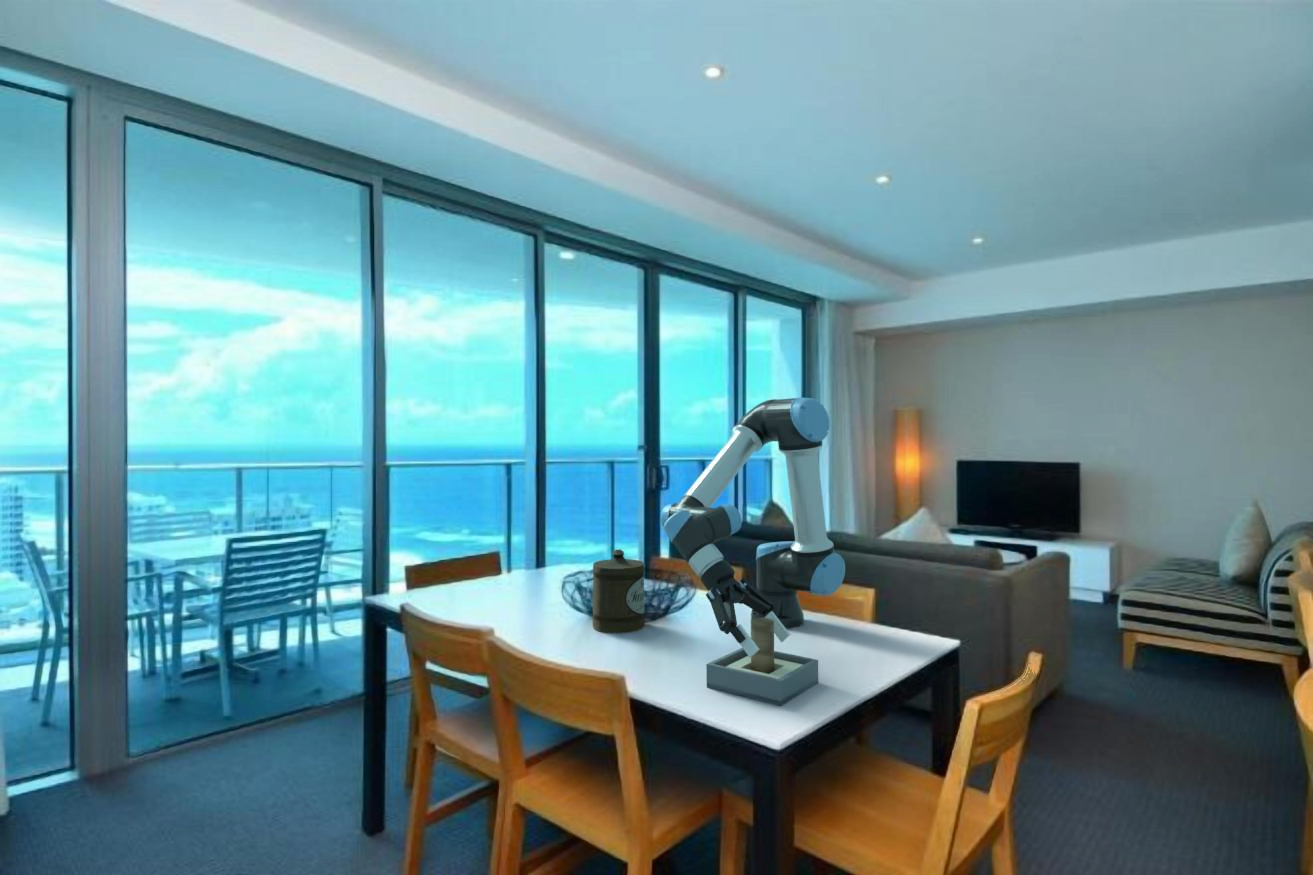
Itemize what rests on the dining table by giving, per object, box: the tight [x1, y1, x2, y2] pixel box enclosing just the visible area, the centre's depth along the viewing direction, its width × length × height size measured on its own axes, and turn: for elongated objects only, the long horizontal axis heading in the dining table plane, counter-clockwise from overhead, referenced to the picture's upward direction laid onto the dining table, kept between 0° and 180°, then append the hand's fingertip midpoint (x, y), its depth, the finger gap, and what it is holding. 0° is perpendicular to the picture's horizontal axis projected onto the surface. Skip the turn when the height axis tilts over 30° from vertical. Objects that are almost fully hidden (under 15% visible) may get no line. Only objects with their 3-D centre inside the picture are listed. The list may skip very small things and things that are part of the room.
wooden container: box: [592, 549, 645, 634], centre depth 205 cm, size 15×15×22 cm
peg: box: [750, 618, 775, 674], centre depth 156 cm, size 5×5×13 cm
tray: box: [705, 647, 819, 707], centre depth 156 cm, size 17×18×5 cm
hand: (771, 645), depth 154 cm, fingers open, 13 cm apart
